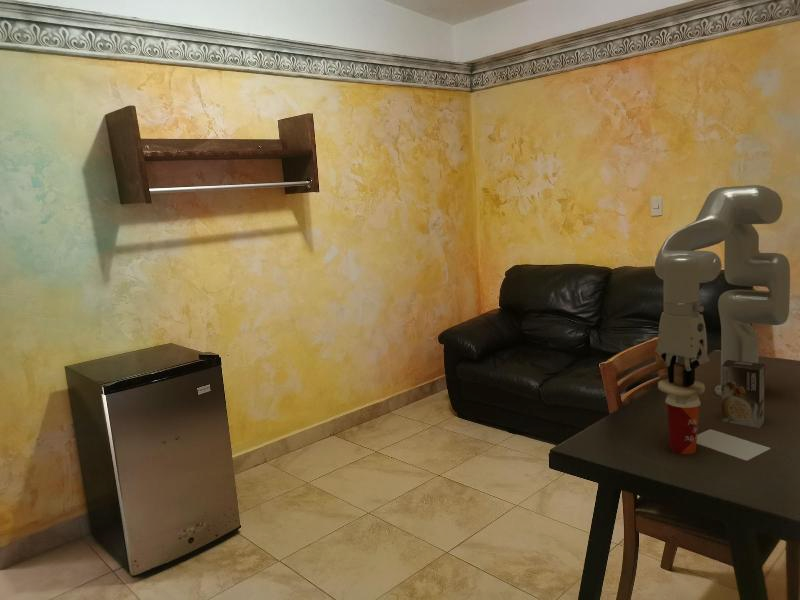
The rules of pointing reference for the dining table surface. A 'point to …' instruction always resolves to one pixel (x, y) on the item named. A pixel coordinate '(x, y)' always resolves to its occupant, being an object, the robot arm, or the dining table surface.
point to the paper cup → (683, 422)
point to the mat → (730, 444)
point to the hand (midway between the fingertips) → (681, 382)
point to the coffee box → (743, 393)
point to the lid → (680, 384)
